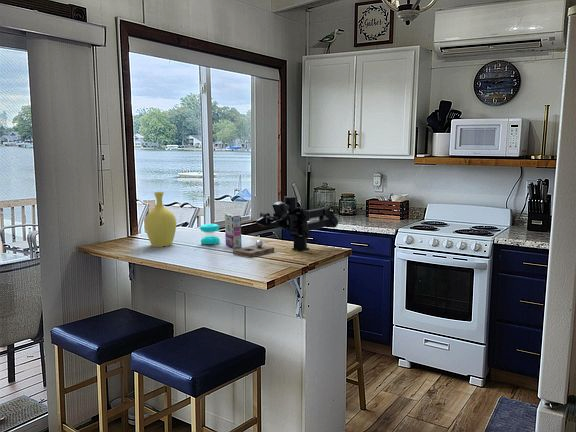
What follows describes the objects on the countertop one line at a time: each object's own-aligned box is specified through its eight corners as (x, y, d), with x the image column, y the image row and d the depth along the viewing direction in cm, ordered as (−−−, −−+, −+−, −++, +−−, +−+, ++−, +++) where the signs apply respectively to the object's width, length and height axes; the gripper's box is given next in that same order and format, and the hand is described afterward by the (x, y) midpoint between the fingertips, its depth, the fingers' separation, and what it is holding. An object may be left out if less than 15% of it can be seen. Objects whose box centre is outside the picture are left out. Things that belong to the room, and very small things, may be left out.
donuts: (221, 223, 268) (215, 226, 258) (222, 241, 269) (216, 245, 260) (203, 223, 270) (197, 226, 260) (204, 241, 271) (198, 245, 261)
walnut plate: (256, 248, 250) (256, 244, 250) (274, 251, 242) (274, 247, 242) (232, 254, 238) (232, 250, 238) (250, 257, 230) (250, 253, 230)
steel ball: (259, 246, 245) (259, 239, 245) (264, 247, 243) (264, 240, 242) (254, 247, 243) (254, 240, 242) (259, 248, 240) (259, 241, 240)
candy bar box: (242, 247, 253) (241, 215, 250) (233, 248, 250) (231, 216, 248) (234, 243, 263) (233, 213, 260) (225, 245, 260) (224, 213, 258)
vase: (139, 247, 259) (136, 193, 255) (157, 241, 274) (154, 190, 270) (166, 248, 254) (163, 194, 250) (183, 242, 269) (180, 190, 265)
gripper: (271, 200, 241) (248, 204, 229) (301, 202, 228) (278, 206, 217) (272, 223, 242) (249, 227, 231) (301, 226, 230) (279, 232, 218)
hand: (263, 223), depth 224 cm, fingers open, 9 cm apart
